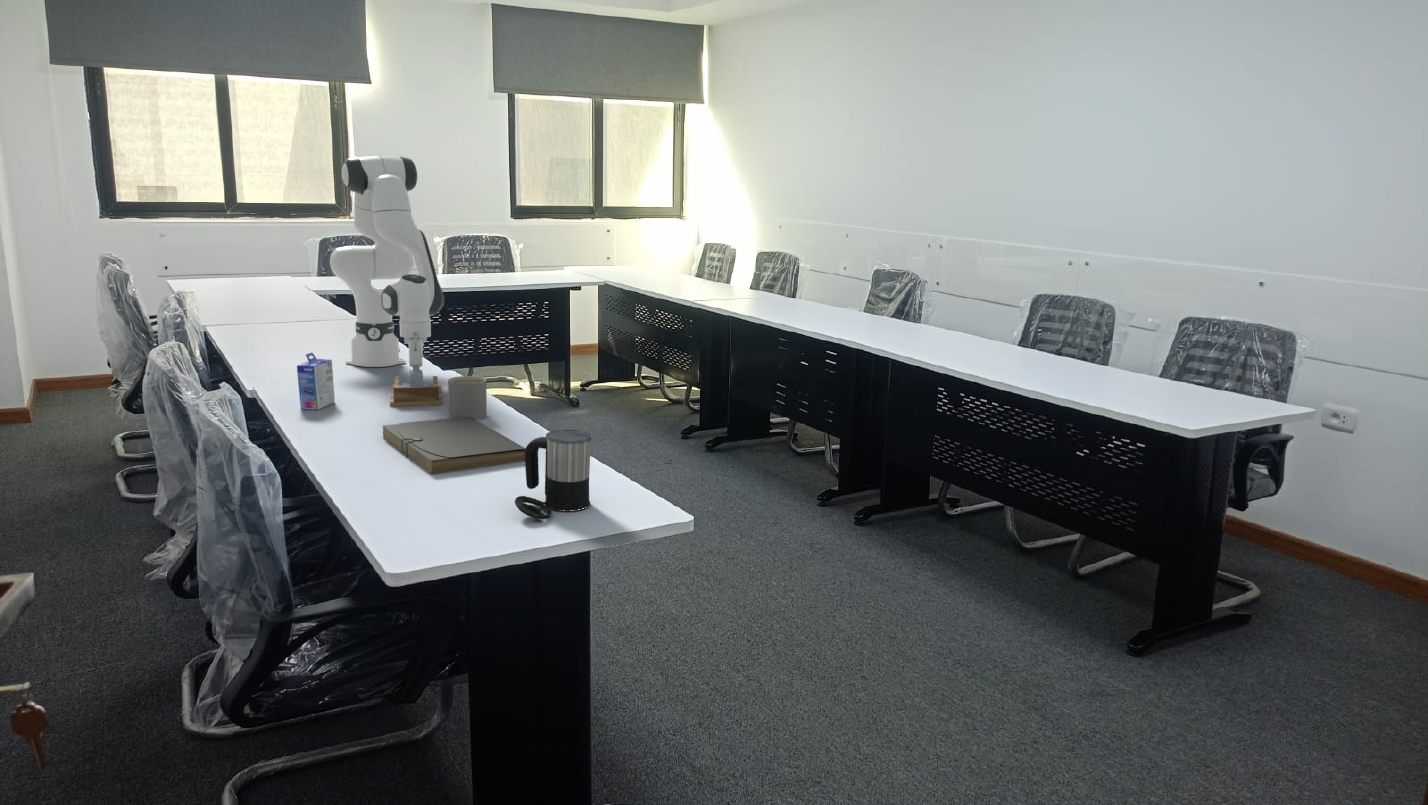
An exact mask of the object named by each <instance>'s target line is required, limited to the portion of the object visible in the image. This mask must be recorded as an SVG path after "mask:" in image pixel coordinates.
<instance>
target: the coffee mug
mask: <svg viewBox="0 0 1428 805" xmlns="http://www.w3.org/2000/svg"><path fill="white" fill-rule="evenodd" d="M447 386H448V387H447V394H448V396H447V397H448V400H447V401H448V417H449V419H450V418H460V417H471V418H473V419H475V420H477V421H478V419H479V420H482V418H483V419H485V418H486V417H487V415H488V414H487V403H488V402H487V379H486V378H484V377H481V376H474V375H460V376H454V377H450V378H448V380H447ZM484 417H485V418H484Z"/></svg>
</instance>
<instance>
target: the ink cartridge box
mask: <svg viewBox="0 0 1428 805" xmlns="http://www.w3.org/2000/svg"><path fill="white" fill-rule="evenodd" d="M310 356H312V358H310ZM305 357H306V359H307V361H306V362H303V363H301V364H298V365H296V370H297V371H296V373H297V383H298V393H299V394H298V396H299V405H300V406H299V407H300V409H301V410H314V411H318V410H321V409H322V408H325V407H327V406H328V405H329V406H330V405H332V404H333V403H335V399H336V398H335V386H334V385H335V384H334V372H333V371H334V370H333V360H332V359H327V358H326V359H325V358H317V357H316V355H315V354H314V353H313V352H309V353H306V354H305Z"/></svg>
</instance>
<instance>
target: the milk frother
mask: <svg viewBox="0 0 1428 805" xmlns="http://www.w3.org/2000/svg"><path fill="white" fill-rule="evenodd" d="M592 439H593V434H592V433H590V432H588V431H584V430H581V429H580V430H579V429H566V428H565V429H564V428H563V429H556V430H554V429H553V430H550V431H549V432H547V433H546V434H545V436H539V437H536V438H534V439H533V440H531V441H529V443H528V444H527V445H526V447H525V448H526V449H525V461H524V462H525V464H524V467H525V468H524V469H525V479H526V481H525V482H526V483H525V484H526V487H527V488H528V489H530V490H533V489H536V488H537V487H538V486H539V485H540V472H539V470H540V469H539V450H540V449H544V450H545V465H544V466H545V467H544V468H545V469H544V471H545V472H544V480H545V481H544V495H545V501H541V500H539V499H536V498H534V497H530V496H526V495H520V496H517V497H516V498H515V499H514V505H515V506H516V508H517V509H518V511H520V512H521V513H523V514H524V515H526V516H527V517H530V518H532V520H536V519H537V520H546V519H548V518H550V516H552V515H551V514H552V509H554V510H553V511H556V510H562V511H561V512H564V511H563V510H565V511H570V510H578V509H582V508H585V507H588V506H589V505H591V501H590V471H591V470H590V465H591V440H592ZM589 507H590V506H589ZM589 507H588V508H589ZM549 508H550V509H549ZM570 512H571V511H570Z"/></svg>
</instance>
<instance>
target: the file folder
mask: <svg viewBox="0 0 1428 805" xmlns="http://www.w3.org/2000/svg"><path fill="white" fill-rule="evenodd" d="M382 438H383V439H384V440H386V441H387V442H388V443H389V444H390V445H392V446H394V447H395V449H397V450H399V452H400V451H401V453H404V454H406V458H408V457H409V458H410V457H411V458H410V459H411V460H413V461H416V462H417V463H418V464H420V465H422V466H423V467H424V468H425V469H426V470H427V472H428V473H430V474H431V475H436V474H441V473H442V474H443V473H444V474H445V473H452V472H457V471H465V470H472V469H476V468H483V467H491V466H497V465H505V464H512V463H517V462H523V461H524V460H525V449H526V447H524V446H523V445H520V444H518V443H517V442H515V441H513V440H512V439H510V438H509V437H506V436H505V435H503V434H501V433H499V432H498V431H497V430H496V431H495V430H494V429H493V428H491V427H489V426H487V425H486V424H484V423H481V422H480V421H478V420H475V419H473V418H471V417H460V418H450V417H449V418H443V419H441V418H440V419H430V420H421V421H420V420H419V421H407V422H400V423H395V424H385V425H384V424H383V425H382ZM524 462H525V461H524Z"/></svg>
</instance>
